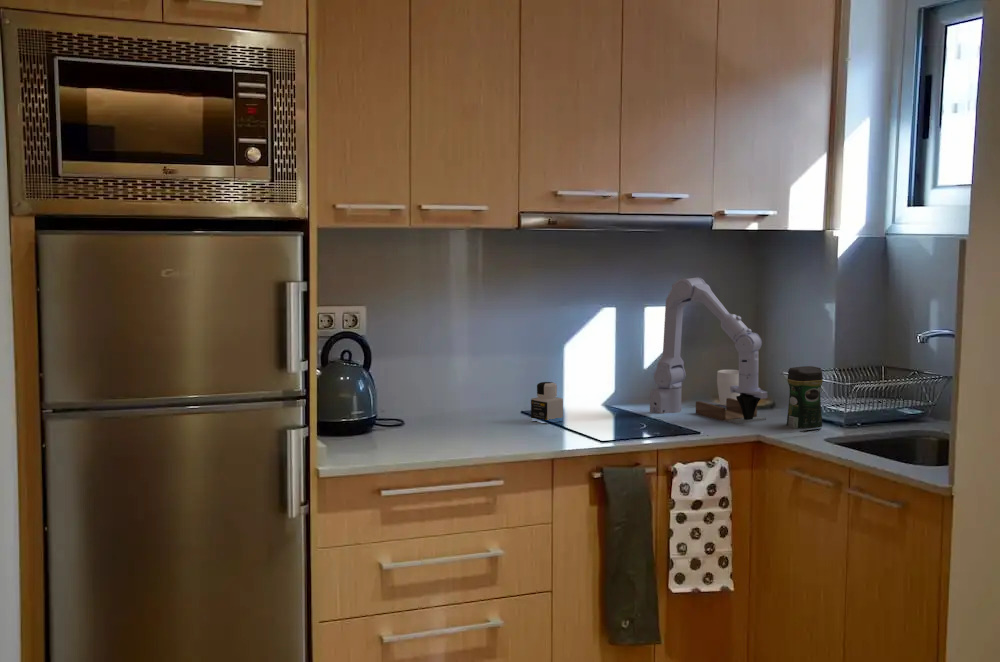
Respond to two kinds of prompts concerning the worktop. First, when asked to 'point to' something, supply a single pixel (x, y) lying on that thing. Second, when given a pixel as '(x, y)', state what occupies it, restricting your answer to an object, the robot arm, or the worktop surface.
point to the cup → (727, 384)
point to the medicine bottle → (546, 402)
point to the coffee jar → (805, 398)
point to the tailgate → (746, 420)
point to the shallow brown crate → (722, 410)
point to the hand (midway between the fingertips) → (748, 419)
